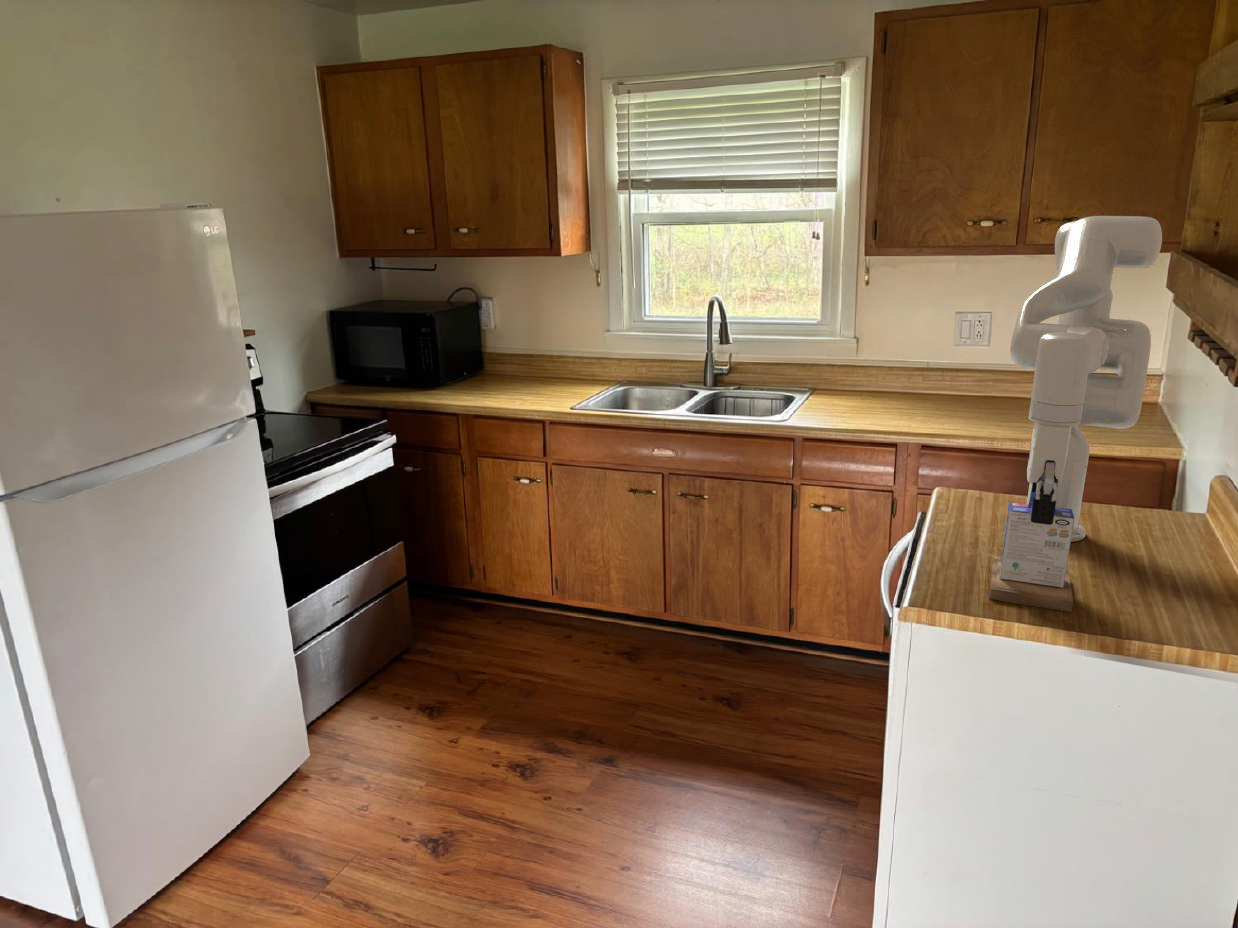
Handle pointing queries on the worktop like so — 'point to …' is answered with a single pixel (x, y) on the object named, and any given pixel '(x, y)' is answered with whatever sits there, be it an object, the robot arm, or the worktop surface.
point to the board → (1030, 591)
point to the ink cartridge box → (1036, 546)
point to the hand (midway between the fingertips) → (1040, 513)
